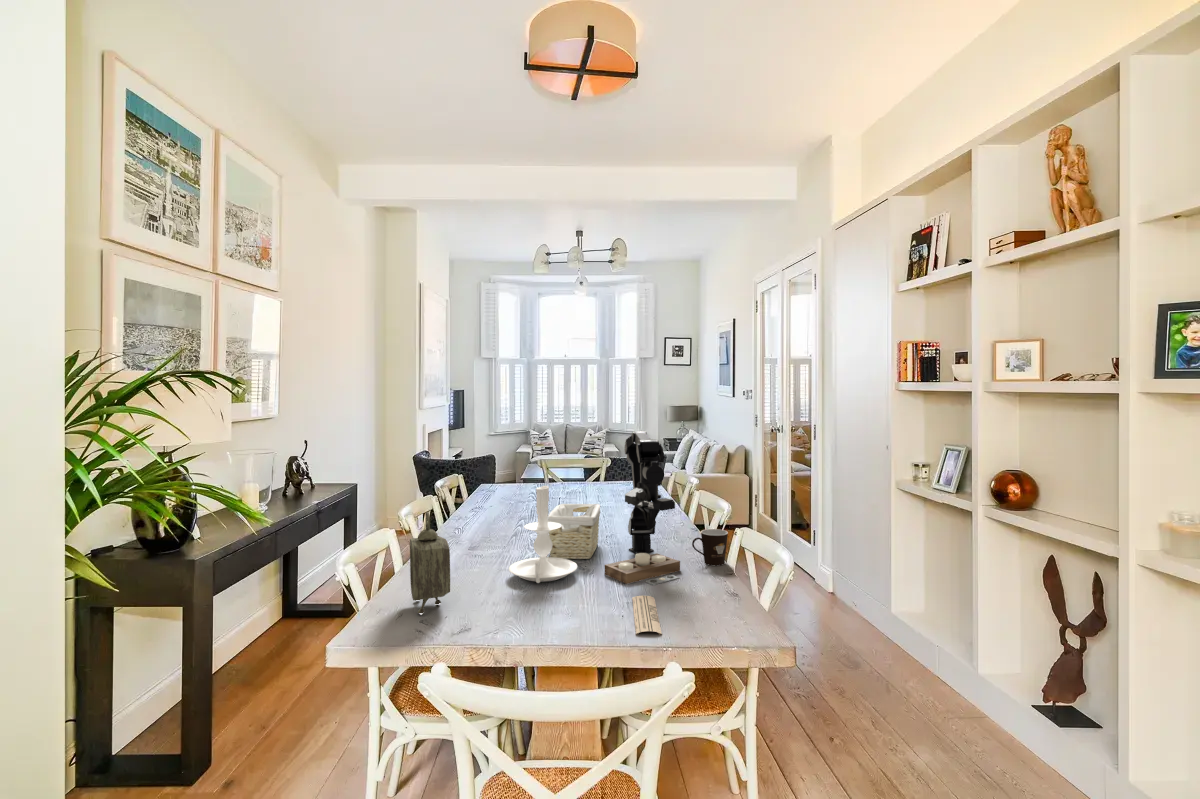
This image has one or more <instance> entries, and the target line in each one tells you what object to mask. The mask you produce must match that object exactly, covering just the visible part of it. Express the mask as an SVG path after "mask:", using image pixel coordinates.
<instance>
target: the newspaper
mask: <svg viewBox="0 0 1200 799" xmlns="http://www.w3.org/2000/svg"><path fill="white" fill-rule="evenodd" d="M631 598H632V610H633V621H634V629H635V630H634V631H635V634H636V636H638V635H639V634H640V633H644V632H654V633H658V635H659V636H662V634H663V633H662V628H661V624H660V619H659V613H658V610H657V605H656V600H655V597H653V596H651V595H645V594H644V595H636V596H632V597H631Z"/></svg>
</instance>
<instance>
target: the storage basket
mask: <svg viewBox="0 0 1200 799" xmlns="http://www.w3.org/2000/svg"><path fill="white" fill-rule="evenodd" d="M574 513H584V514H581V515H578V516H574ZM600 515H601V504H600V503H560V504H558V505H556V506H555V507H554V508H553V510H551V511H550V512H549V514H548V522H555V523H559V524H561V525H562V526H561V527H560V528H558V529H555V530H551V531H550V532H549V537H550V539H551V541H552V544H553V545H552V549H551V551H550V553H549V557H555V558H563V559H567V560H590V559H592V557H593V555H594V553H595V551H596V550H597V547H598V546H597V545H598V544H599V531H600V530H599V529H600V528H599V527H600V517H601V516H600Z"/></svg>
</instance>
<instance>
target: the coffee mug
mask: <svg viewBox="0 0 1200 799" xmlns="http://www.w3.org/2000/svg"><path fill="white" fill-rule="evenodd" d="M700 536H701V537H695V538H694V539H693V540H692V541H691V542H692V544H691V545H692V546H691V547H692V548H693V549H694V550H695V552H696V553H697V552H698V553H699V554H700V555H701V556H702V555H703V562H704V564H705V563H706V564H705V565H707V564H709V565H708V566H711V565H715V567H718V566H717V565H720V566H723V565H722V564H724V565H725V562H726V554H727V552H726V551H727V545H728V544H727V543H728V536H729V532H728V531H727V530H725V529H724V530H723V529H719V528H718V529H717V528H710V529H709V528H707V529H703V530H701V531H700ZM698 540H700V541H701V545H702V551H703V552H702V551H700V550H698V549H697V547H696V546H695V542H696V541H698Z"/></svg>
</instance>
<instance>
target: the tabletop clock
mask: <svg viewBox="0 0 1200 799" xmlns="http://www.w3.org/2000/svg"><path fill="white" fill-rule="evenodd" d="M430 517H431V516H430V513H429V512H428V511H426V512H425V529H423V530H421V532H419V533H418V536H417V537H414V538H409V573H410V574H409V576H410V577H409V578H410V592H411V598H412V601H416V600H420V601H422V602H421V606H420V608H419V609H418V611H417V614H418V613H423V612H424V613H425V609H424V607H425V605H426V603H427V601H428V600H429V599H435V601H434V605H435V604H439V603H441V604H442V601H441V600H440V599H439V598H442V597H445V596H446V595H448V594H449V593H450V592H451V555H450V554H451V552H450V551H451V550H450V544H449V543H448V541H447V538H444V537H441V536H440V535H438V533H437V531H435V529H432V528H431V523H430V521H431V520H430V519H431V518H430Z"/></svg>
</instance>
